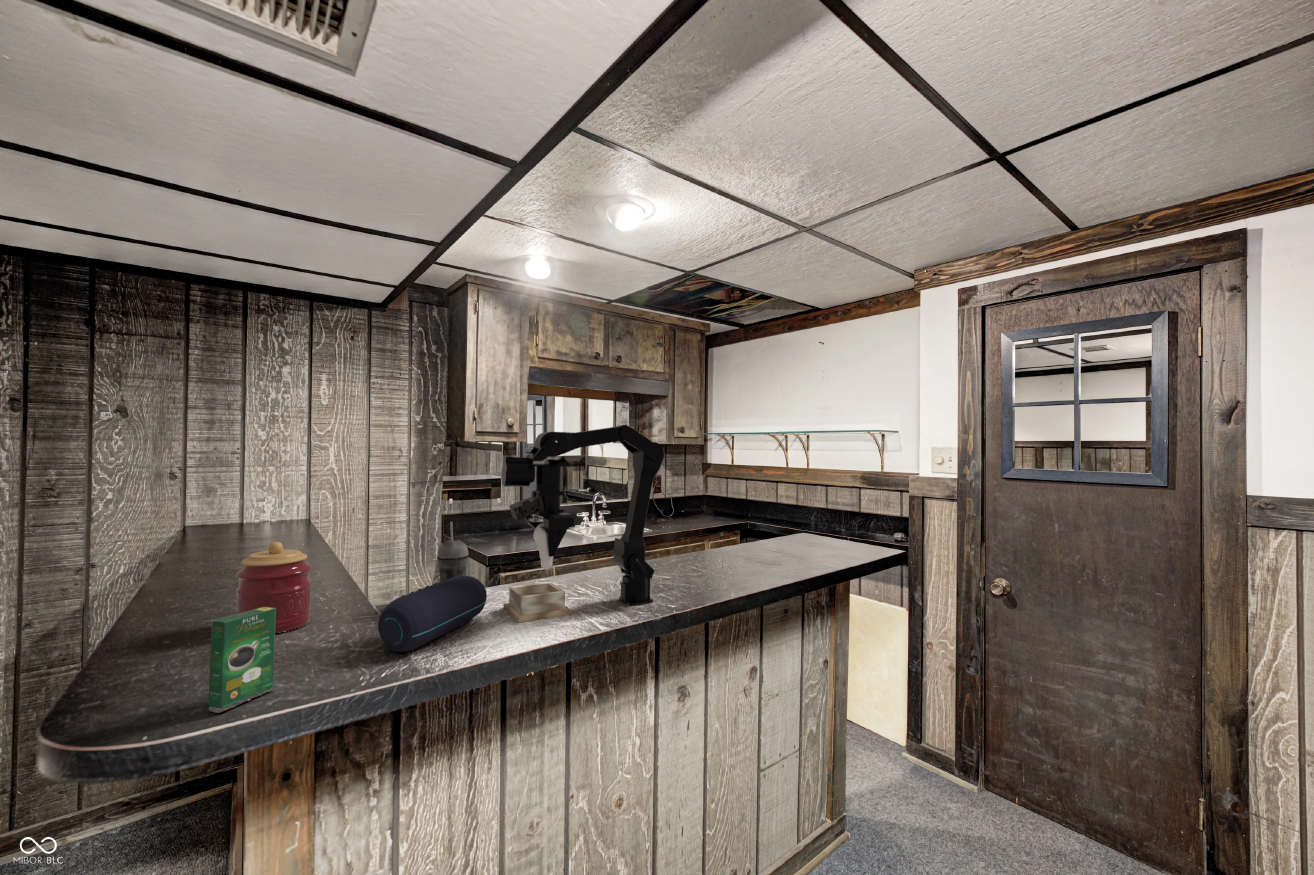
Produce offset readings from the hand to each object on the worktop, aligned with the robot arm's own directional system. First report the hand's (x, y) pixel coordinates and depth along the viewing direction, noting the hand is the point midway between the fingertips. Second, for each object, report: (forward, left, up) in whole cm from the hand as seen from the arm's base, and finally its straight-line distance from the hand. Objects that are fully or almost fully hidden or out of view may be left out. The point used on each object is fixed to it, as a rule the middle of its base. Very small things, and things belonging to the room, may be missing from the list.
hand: (546, 554), depth 125 cm
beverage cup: (+18, -16, -14) cm, 27 cm away
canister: (+53, -18, -14) cm, 57 cm away
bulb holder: (+2, -2, -13) cm, 14 cm away
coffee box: (+54, +19, -14) cm, 58 cm away
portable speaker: (+24, +3, -14) cm, 28 cm away
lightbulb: (0, 0, -4) cm, 4 cm away
